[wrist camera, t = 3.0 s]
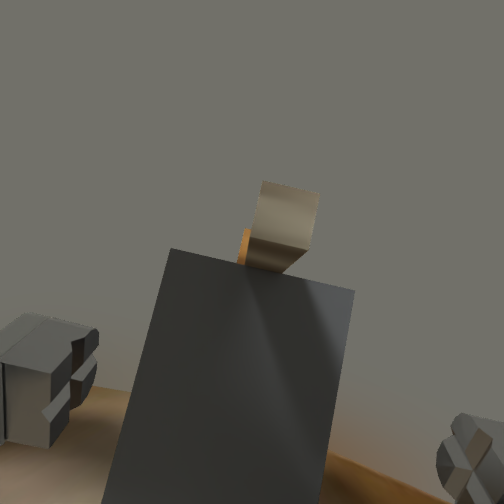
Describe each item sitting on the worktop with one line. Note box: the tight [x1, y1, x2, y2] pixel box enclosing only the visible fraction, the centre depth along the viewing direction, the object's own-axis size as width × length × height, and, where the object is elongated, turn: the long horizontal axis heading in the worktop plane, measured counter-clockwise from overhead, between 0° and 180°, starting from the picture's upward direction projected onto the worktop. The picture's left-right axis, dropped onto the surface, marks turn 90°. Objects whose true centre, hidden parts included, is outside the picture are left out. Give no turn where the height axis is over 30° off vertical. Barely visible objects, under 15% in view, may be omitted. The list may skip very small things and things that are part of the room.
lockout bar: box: [237, 181, 320, 274], centre depth 28 cm, size 22×4×4 cm, turn 3°
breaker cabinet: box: [101, 248, 355, 504], centre depth 30 cm, size 13×14×26 cm
